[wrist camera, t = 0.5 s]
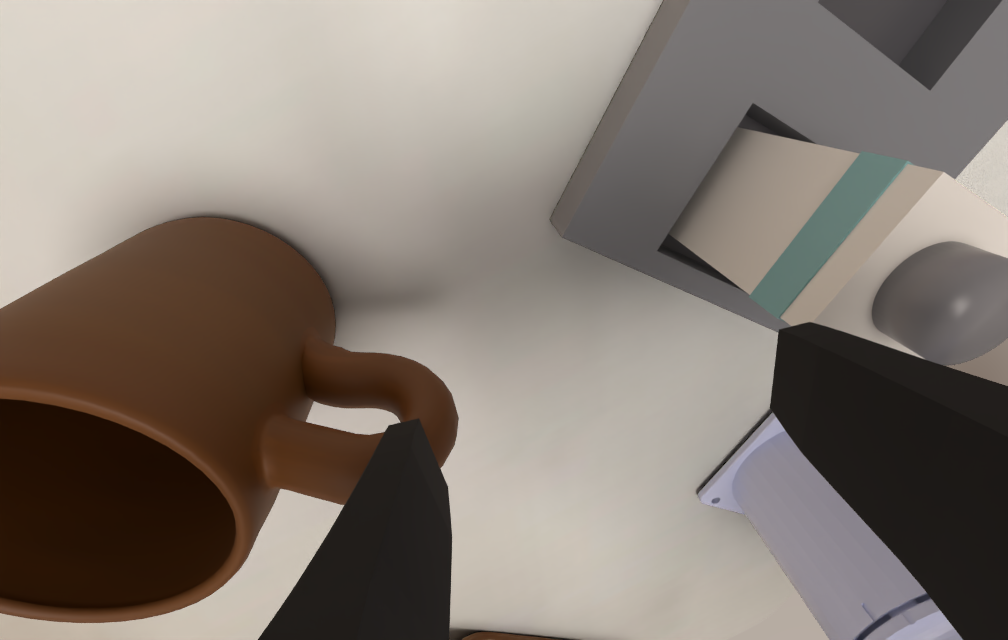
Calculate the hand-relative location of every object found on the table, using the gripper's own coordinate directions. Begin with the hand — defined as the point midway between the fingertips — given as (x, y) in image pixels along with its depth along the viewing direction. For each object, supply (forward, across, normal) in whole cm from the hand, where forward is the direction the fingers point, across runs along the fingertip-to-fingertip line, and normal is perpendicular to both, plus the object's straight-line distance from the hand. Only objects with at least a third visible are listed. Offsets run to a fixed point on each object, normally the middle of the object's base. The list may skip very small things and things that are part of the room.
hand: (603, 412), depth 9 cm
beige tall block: (+9, -8, 0) cm, 12 cm away
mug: (+10, +9, 0) cm, 13 cm away
